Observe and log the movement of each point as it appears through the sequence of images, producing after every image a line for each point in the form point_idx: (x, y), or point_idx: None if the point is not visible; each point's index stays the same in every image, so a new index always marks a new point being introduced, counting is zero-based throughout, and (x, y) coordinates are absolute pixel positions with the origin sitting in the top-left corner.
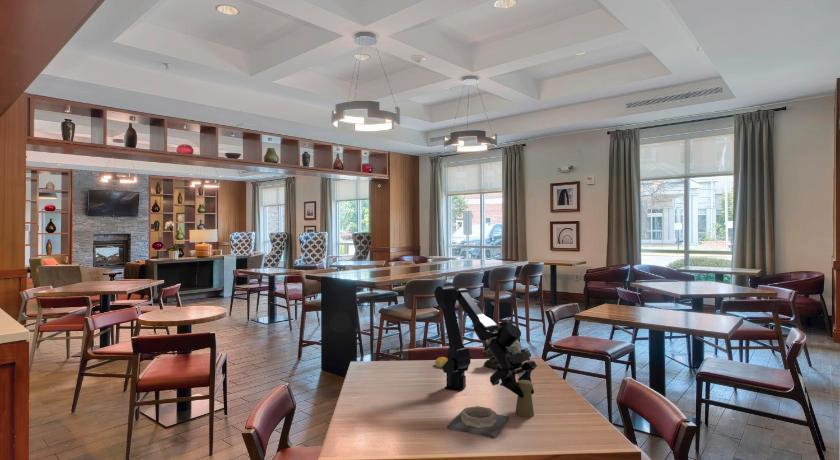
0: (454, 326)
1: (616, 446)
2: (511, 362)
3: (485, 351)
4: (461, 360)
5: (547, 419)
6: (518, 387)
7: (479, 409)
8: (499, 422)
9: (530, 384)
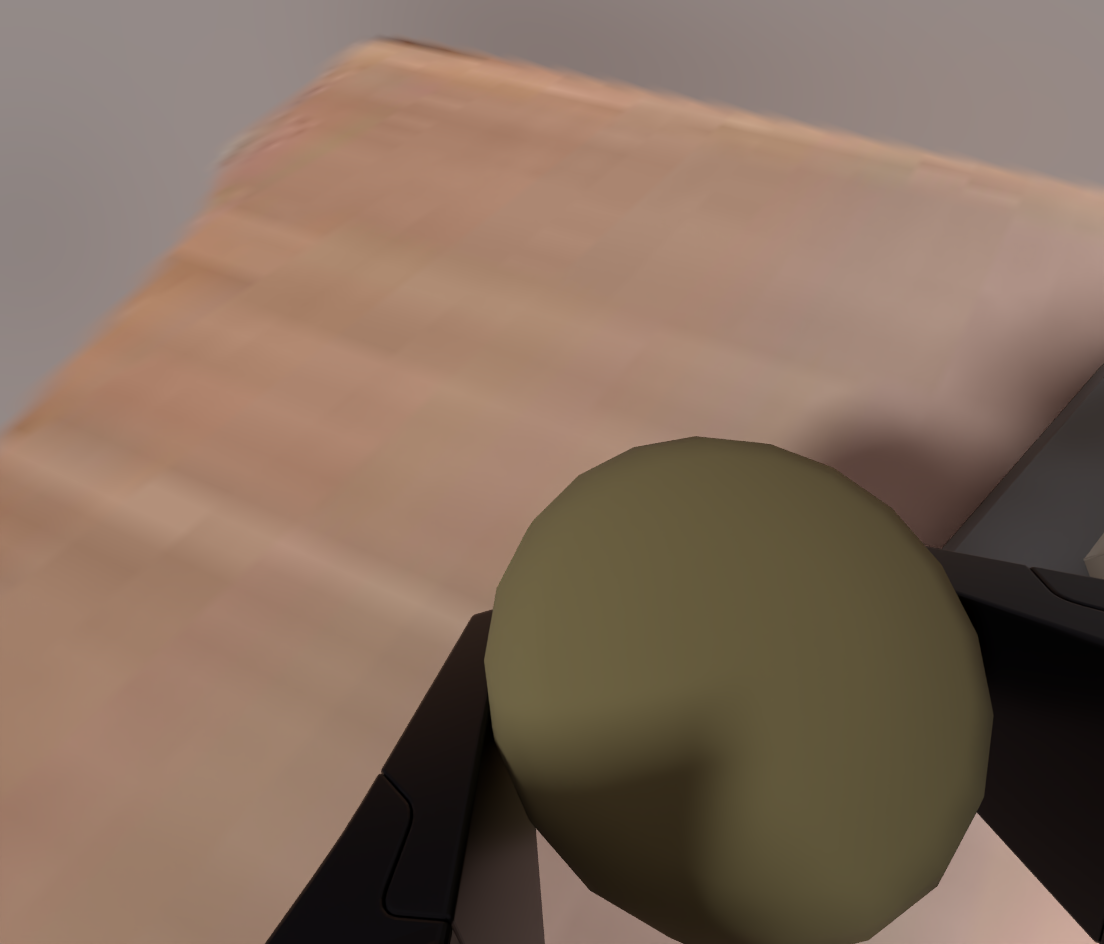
0: None
1: (394, 79)
2: None
3: None
4: None
5: (485, 481)
6: (963, 573)
7: None
8: (1053, 516)
9: (646, 448)
